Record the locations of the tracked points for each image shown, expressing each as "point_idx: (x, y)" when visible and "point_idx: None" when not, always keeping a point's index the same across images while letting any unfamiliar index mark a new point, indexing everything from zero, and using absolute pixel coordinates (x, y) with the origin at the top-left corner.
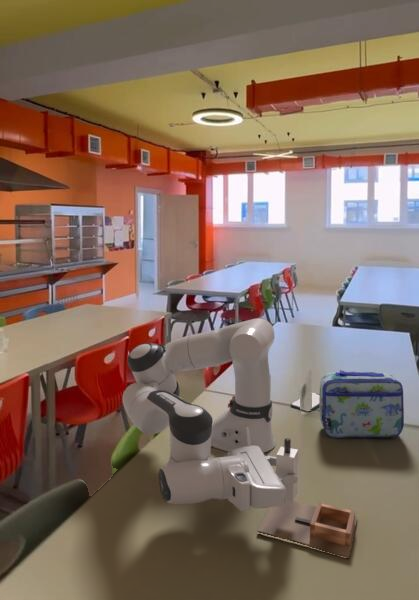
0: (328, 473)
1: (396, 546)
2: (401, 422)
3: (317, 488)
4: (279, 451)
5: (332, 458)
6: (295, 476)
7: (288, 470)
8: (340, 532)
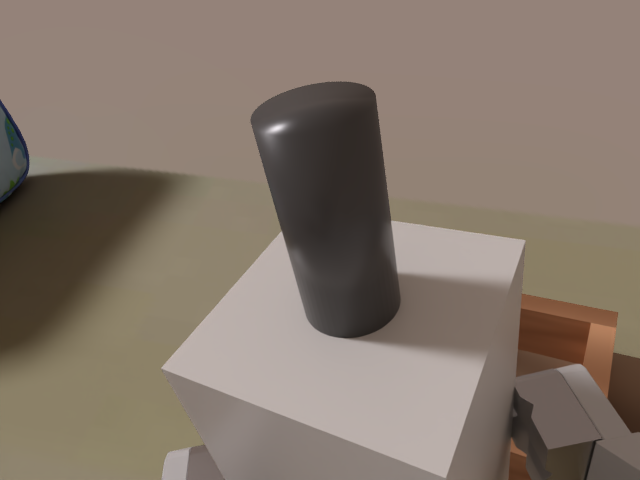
0: (84, 355)
1: (528, 243)
2: (14, 128)
3: (163, 413)
4: (325, 406)
5: (4, 327)
6: (589, 377)
7: (501, 428)
8: (613, 348)
